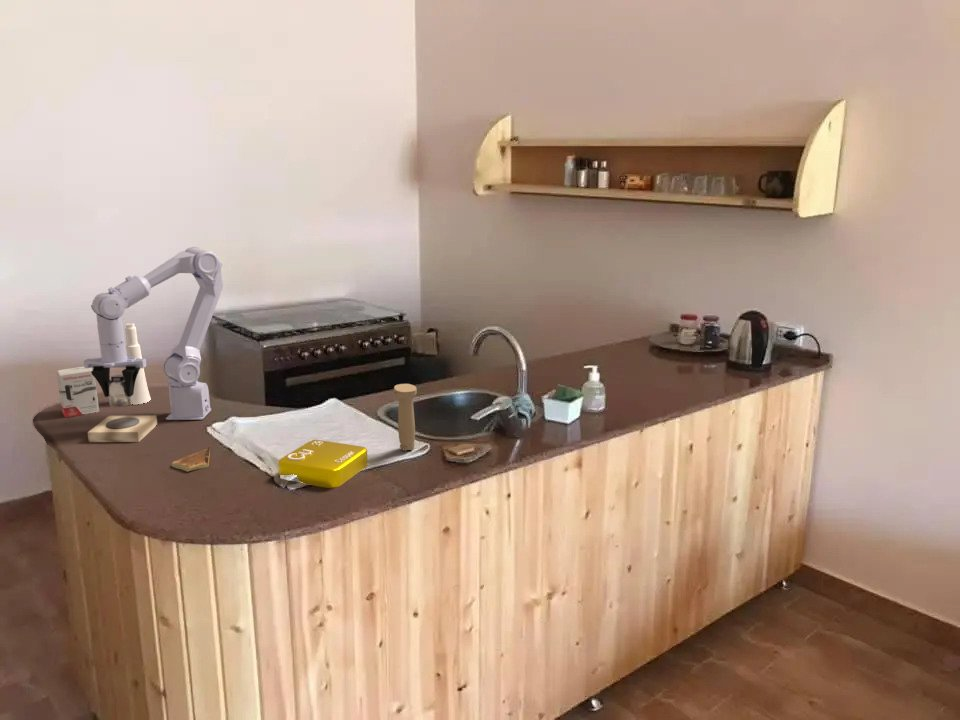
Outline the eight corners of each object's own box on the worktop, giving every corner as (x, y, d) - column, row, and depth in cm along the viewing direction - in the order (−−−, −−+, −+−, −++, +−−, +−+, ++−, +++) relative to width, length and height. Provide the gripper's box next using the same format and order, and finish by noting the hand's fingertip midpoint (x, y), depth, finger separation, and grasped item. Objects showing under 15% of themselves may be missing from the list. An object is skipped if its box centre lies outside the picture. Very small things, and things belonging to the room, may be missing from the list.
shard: (210, 453, 195) (209, 445, 194) (232, 459, 191) (231, 452, 190) (170, 468, 186) (170, 460, 186) (193, 475, 182) (192, 468, 182)
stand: (157, 424, 212) (156, 414, 212) (138, 441, 201) (137, 430, 200) (110, 425, 212) (108, 414, 212) (88, 442, 201) (87, 431, 200)
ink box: (64, 418, 218) (58, 374, 215) (62, 413, 222) (55, 370, 218) (100, 412, 222) (94, 369, 219) (96, 407, 226) (90, 365, 223)
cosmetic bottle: (128, 399, 233) (118, 322, 227) (151, 397, 234) (142, 320, 228) (126, 405, 227) (116, 327, 221) (150, 403, 229) (141, 325, 223)
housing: (134, 400, 210) (131, 373, 208) (127, 406, 205) (124, 379, 203) (114, 400, 210) (111, 373, 208) (106, 406, 205) (103, 379, 203)
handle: (413, 443, 199) (411, 382, 195) (421, 452, 193) (419, 390, 189) (393, 445, 197) (391, 385, 193) (400, 455, 191) (398, 393, 187)
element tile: (335, 491, 174) (334, 469, 172) (275, 480, 179) (273, 459, 178) (371, 465, 187) (370, 445, 186) (314, 455, 193) (312, 436, 191)
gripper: (74, 346, 199) (82, 400, 203) (135, 346, 199) (141, 400, 203) (88, 339, 206) (95, 391, 210) (147, 339, 206) (153, 391, 209)
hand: (119, 395), depth 207 cm, fingers closed on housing, 5 cm apart
